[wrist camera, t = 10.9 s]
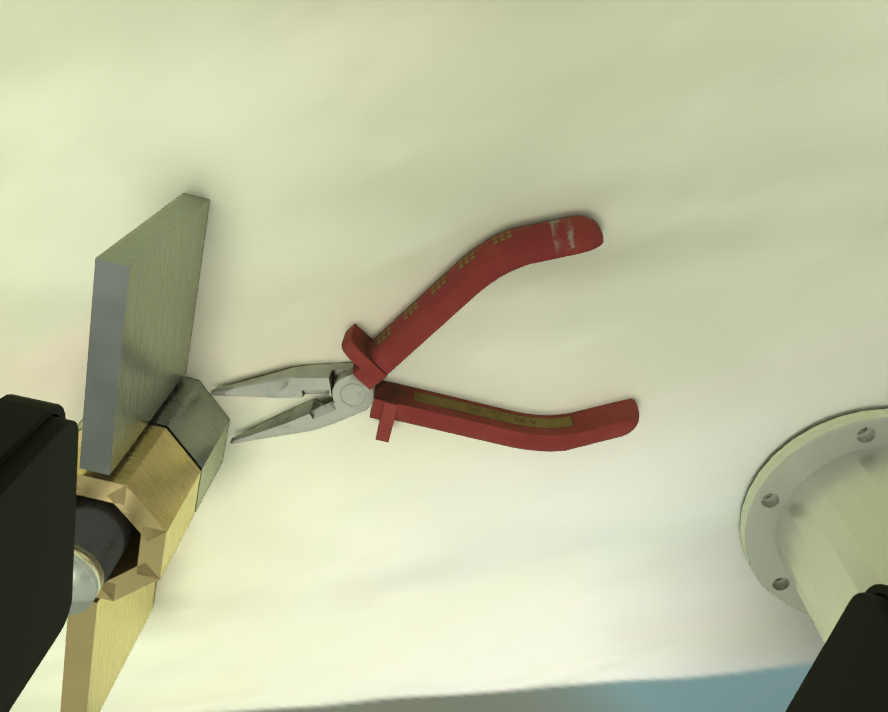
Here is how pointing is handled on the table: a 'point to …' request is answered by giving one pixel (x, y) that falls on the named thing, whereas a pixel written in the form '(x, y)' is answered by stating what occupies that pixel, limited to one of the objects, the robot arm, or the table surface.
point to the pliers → (378, 357)
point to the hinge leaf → (128, 561)
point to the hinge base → (149, 345)
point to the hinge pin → (96, 547)
